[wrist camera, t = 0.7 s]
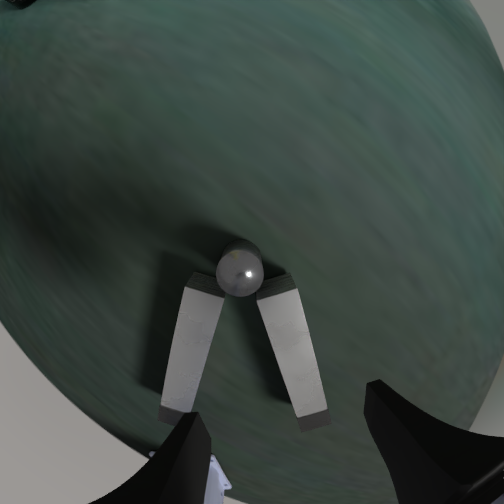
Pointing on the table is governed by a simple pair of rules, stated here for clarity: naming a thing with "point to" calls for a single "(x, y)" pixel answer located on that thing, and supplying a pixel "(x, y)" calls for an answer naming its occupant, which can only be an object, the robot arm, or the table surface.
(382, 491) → the table surface
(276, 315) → the bar
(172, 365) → the tongs fixed arm
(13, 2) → the supplement bottle
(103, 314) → the table surface
